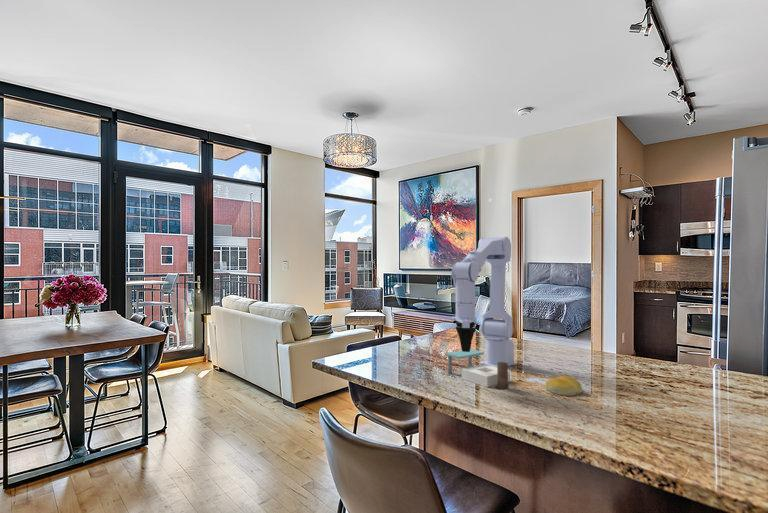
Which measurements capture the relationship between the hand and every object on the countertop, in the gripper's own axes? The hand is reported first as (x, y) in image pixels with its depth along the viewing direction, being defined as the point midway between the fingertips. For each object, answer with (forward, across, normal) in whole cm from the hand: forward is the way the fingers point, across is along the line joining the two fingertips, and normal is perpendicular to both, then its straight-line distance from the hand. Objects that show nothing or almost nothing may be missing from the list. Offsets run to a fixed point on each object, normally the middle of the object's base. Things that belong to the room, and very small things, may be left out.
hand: (465, 348), depth 117 cm
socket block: (+10, -4, +6) cm, 12 cm away
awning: (+10, -10, 0) cm, 14 cm away
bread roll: (+10, +3, +26) cm, 29 cm away
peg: (+10, +4, +10) cm, 15 cm away
